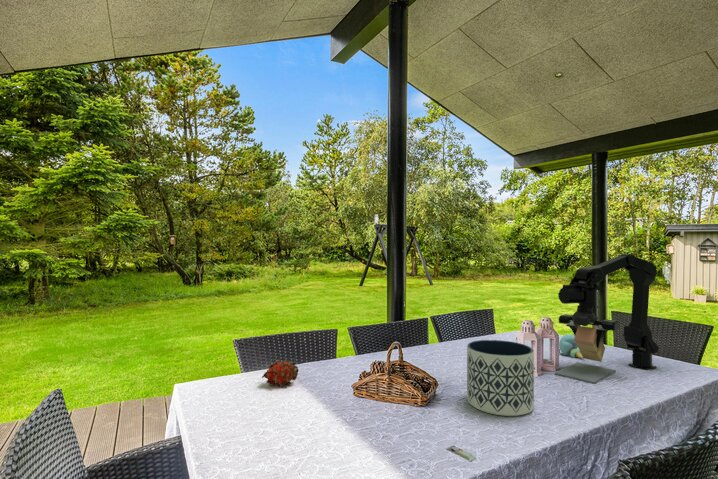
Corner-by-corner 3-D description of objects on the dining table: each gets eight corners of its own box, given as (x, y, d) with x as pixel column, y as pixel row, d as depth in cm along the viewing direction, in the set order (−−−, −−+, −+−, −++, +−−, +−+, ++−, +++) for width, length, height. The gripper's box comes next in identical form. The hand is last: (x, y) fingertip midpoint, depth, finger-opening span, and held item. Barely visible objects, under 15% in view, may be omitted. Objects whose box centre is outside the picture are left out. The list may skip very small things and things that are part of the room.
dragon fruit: (301, 388, 133) (265, 397, 129) (295, 367, 140) (260, 376, 136) (302, 372, 128) (264, 382, 124) (295, 351, 135) (259, 360, 131)
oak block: (587, 345, 153) (578, 325, 148) (605, 348, 148) (596, 328, 143) (583, 358, 150) (573, 339, 145) (601, 361, 146) (591, 342, 140)
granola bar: (477, 460, 86) (477, 455, 86) (470, 463, 85) (470, 458, 85) (452, 447, 92) (452, 443, 92) (445, 450, 90) (445, 446, 90)
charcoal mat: (577, 363, 155) (577, 362, 155) (615, 371, 145) (615, 370, 145) (554, 374, 142) (554, 372, 142) (594, 384, 132) (594, 382, 133)
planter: (501, 422, 103) (501, 359, 104) (454, 399, 120) (453, 343, 120) (548, 409, 112) (548, 350, 112) (498, 389, 128) (498, 337, 128)
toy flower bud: (579, 341, 158) (556, 332, 170) (578, 363, 159) (555, 353, 170) (593, 339, 160) (569, 331, 172) (592, 361, 161) (568, 351, 172)
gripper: (551, 302, 148) (552, 344, 148) (608, 308, 134) (609, 355, 133) (564, 299, 155) (565, 339, 155) (619, 304, 141) (620, 349, 141)
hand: (588, 345), depth 146 cm, fingers closed on oak block, 6 cm apart
